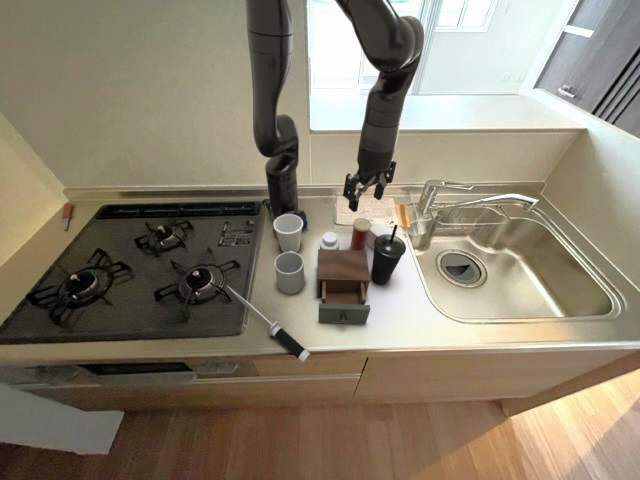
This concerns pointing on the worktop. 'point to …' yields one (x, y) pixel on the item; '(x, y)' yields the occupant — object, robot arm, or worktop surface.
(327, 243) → the supplement bottle
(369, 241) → the white cube
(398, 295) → the worktop surface
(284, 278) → the cup
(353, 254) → the cabinet
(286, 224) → the dixie cup
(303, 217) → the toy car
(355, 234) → the tin
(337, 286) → the drawer
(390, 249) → the drinking cup
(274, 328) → the knife
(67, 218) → the kitchen knife
